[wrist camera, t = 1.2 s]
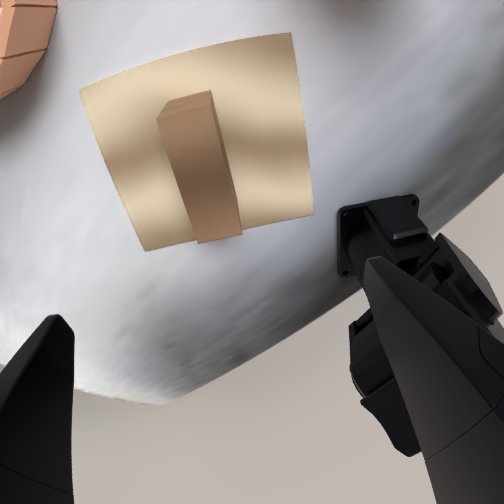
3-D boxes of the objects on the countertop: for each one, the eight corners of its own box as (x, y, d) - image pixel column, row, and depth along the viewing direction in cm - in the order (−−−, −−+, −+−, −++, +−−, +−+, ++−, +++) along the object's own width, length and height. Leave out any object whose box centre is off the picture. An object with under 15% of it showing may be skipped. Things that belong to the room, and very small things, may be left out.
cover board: (310, 208, 22) (331, 250, 18) (146, 244, 22) (136, 292, 18) (287, 32, 14) (312, 31, 10) (83, 87, 14) (46, 106, 11)
